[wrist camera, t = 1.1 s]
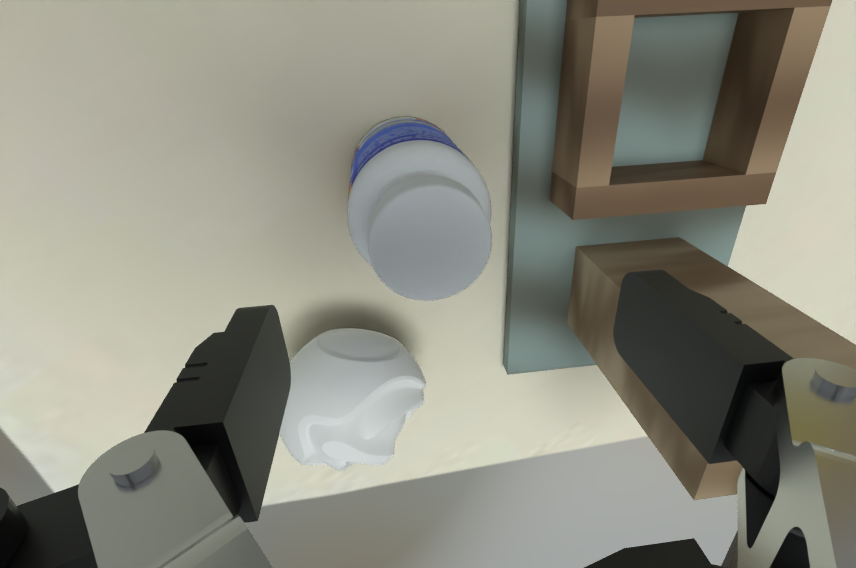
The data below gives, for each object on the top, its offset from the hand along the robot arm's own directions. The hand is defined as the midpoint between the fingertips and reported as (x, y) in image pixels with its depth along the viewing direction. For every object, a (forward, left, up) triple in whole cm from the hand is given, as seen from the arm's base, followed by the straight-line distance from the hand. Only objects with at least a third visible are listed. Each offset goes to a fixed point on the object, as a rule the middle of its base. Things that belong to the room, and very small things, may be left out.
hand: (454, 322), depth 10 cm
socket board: (+2, +12, -14) cm, 18 cm away
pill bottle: (0, 0, -14) cm, 14 cm away
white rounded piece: (+11, -4, -14) cm, 18 cm away
